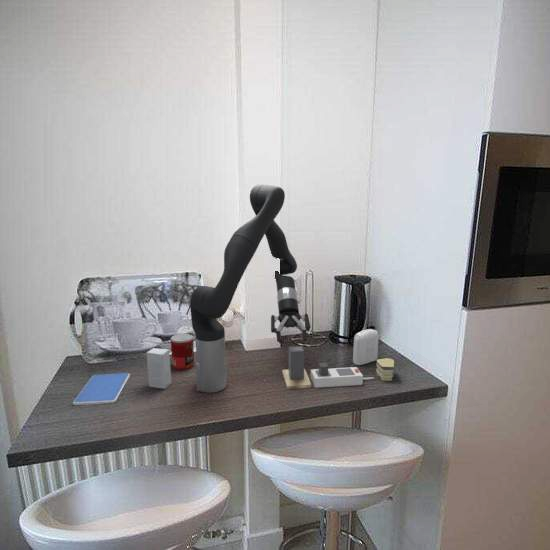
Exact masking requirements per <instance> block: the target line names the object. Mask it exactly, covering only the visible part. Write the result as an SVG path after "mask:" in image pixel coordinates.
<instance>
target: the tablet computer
mask: <svg viewBox="0 0 550 550" xmlns="http://www.w3.org/2000/svg"><path fill="white" fill-rule="evenodd" d="M130 376H131V374H130V373H129V372H126V373H125V372H124V373H123V372H122V373H108V374H107V373H106V374H103V373H102V374H94V375H92V376H91V378H90V379H89V380H88V381H87V383H86V384H85V386H84V387H83V388H82V389H81V391H80V392H79V393H78V395H77V396H76V398H75V399H74V400H73V402H72V405H73V406H87V405H88V406H89V405H100V404H101V405H102V404H104V405H105V404H113V403H115V402H116V401H117V400H118V398H119V396H120V394H121V392H122V391H123V389H124V387H125V384H126V383H127V381H128V380H129V378H130Z"/></svg>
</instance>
